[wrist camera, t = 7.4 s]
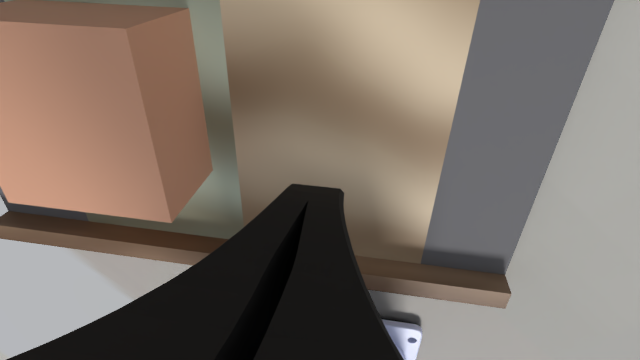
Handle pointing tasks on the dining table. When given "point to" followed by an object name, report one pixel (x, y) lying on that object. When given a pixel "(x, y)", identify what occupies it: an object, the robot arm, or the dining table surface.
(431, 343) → the dining table surface
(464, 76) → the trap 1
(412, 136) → the dark brown flat frame
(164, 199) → the block
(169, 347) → the robot arm
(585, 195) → the dining table surface
